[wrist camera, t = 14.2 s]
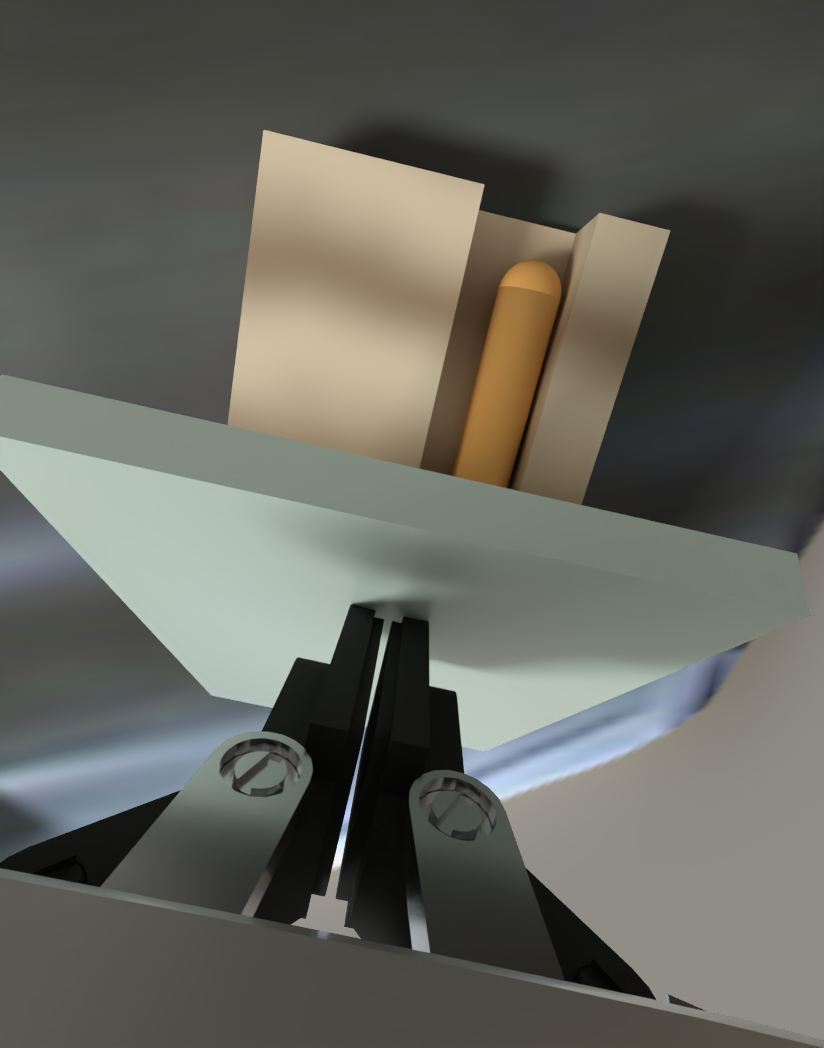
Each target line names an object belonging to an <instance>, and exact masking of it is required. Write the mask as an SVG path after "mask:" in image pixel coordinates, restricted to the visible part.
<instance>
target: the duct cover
mask: <svg viewBox="0 0 824 1048" xmlns="http://www.w3.org/2000/svg"><path fill="white" fill-rule="evenodd" d="M0 470H1V471H2V472H3V473H4V474H5V475H6V476H7V478H8V479H9V480H10V481H11V482H12V483H13V484H14V485H15V486H16V487H17V488H18V489H19V490H20V491H21V493H22V494H23V495H24V496H25V497H26V498H27V499H28V500H29V501H30V502H31V503H32V504H33V505H34V506H35V507H36V509H37V510H38V511H39V512H40V513H41V514H42V515H43V516H44V517H45V518H46V519H47V520H48V521H49V522H50V524H51V525H52V526H53V527H54V528H55V529H56V530H57V531H58V532H59V533H60V534H61V535H62V536H63V537H64V538H65V540H66V541H67V542H68V543H69V544H70V545H71V546H72V547H73V548H74V549H75V550H76V551H77V552H78V553H79V554H80V556H81V557H82V558H83V559H84V560H85V561H86V562H87V563H88V564H89V565H90V566H91V567H92V568H93V569H94V571H95V572H96V573H97V574H98V575H99V576H100V577H101V578H102V579H103V580H104V581H105V582H106V583H107V584H108V585H109V587H110V588H111V589H112V590H113V591H114V592H115V593H116V594H117V595H118V596H119V597H120V598H121V599H122V600H123V601H124V603H125V604H126V605H127V606H128V607H129V608H130V609H131V610H132V611H133V612H134V613H135V614H136V615H137V616H138V618H139V619H140V620H141V621H142V622H143V623H144V624H145V625H146V626H147V627H148V628H149V629H150V630H151V631H152V632H153V634H154V635H155V636H156V637H157V638H158V639H159V640H160V641H161V642H162V643H163V644H164V645H165V646H166V647H167V648H168V650H169V651H170V652H171V653H172V654H173V655H174V656H175V657H176V658H177V659H178V660H179V661H180V662H181V663H182V665H183V666H184V667H185V668H186V669H187V670H188V671H189V672H190V673H191V674H192V675H193V676H194V677H195V678H196V679H197V681H198V682H199V683H200V684H201V685H202V686H203V687H204V688H205V689H206V690H207V691H208V692H209V693H210V694H211V695H212V696H217V697H222V698H227V699H232V700H237V701H242V702H247V703H251V704H256V705H261V706H266V707H271V708H273V706H274V704H275V702H276V700H277V698H278V696H279V694H280V692H281V689H282V687H283V685H284V683H285V681H286V679H287V677H288V675H289V672H290V670H291V668H292V666H293V664H294V662H295V660H296V658H297V657H300V658H304V659H309V660H314V661H318V662H323V663H327V664H330V663H331V660H332V657H333V654H334V651H335V648H336V645H337V642H338V639H339V637H340V634H341V631H342V628H343V625H344V622H345V619H346V616H347V613H348V610H349V607H350V605H355V606H359V607H364V608H368V609H373V610H376V611H375V616H374V617H377V618H381V619H384V624H383V629H382V635H381V640H380V646H379V651H378V657H377V662H376V668H375V673H374V679H373V684H372V690H371V695H370V701H369V706H368V712H367V717H366V723H365V727H367V724H368V720H369V715H370V711H371V707H372V703H373V699H374V694H375V690H376V686H377V682H378V678H379V673H380V669H381V665H382V661H383V657H384V652H385V648H386V644H387V640H388V636H389V631H390V627H391V623H392V621H395V622H399V623H402V620H403V617H409V618H413V619H418V620H422V621H427V622H429V686H433V687H438V688H442V689H447V690H451V691H455V692H456V694H457V701H458V712H459V723H460V734H461V745H462V747H465V748H470V749H475V750H480V751H487V750H490V749H492V748H494V747H497V746H499V745H501V744H504V743H506V742H509V741H511V740H513V739H516V738H518V737H521V736H523V735H525V734H528V733H530V732H533V731H535V730H537V729H540V728H542V727H545V726H547V725H549V724H552V723H554V722H556V721H559V720H561V719H564V718H566V717H568V716H571V715H573V714H576V713H578V712H580V711H583V710H585V709H588V708H590V707H592V706H595V705H597V704H600V703H602V702H604V701H607V700H609V699H612V698H614V697H616V696H619V695H621V694H623V693H626V692H628V691H631V690H633V689H635V688H638V687H640V686H643V685H645V684H647V683H650V682H652V681H655V680H657V679H659V678H662V677H664V676H667V675H669V674H671V673H674V672H676V671H679V670H681V669H683V668H686V667H688V666H690V665H693V664H695V663H698V662H700V661H702V660H705V659H707V658H710V657H712V656H714V655H717V654H719V653H722V652H724V651H726V650H729V649H731V648H734V647H736V646H738V645H741V644H743V643H745V642H748V641H750V640H753V639H755V638H757V637H760V636H762V635H765V634H767V633H769V632H772V631H774V630H776V629H779V628H781V627H784V626H786V625H789V624H791V623H793V622H796V621H798V620H801V619H803V618H805V617H808V616H810V613H809V608H808V603H807V598H806V594H805V589H804V584H803V580H802V575H801V570H800V565H799V561H798V556H797V554H796V553H792V552H787V551H783V550H778V549H774V548H769V547H765V546H761V545H756V544H752V543H747V542H743V541H738V540H734V539H730V538H725V537H721V536H716V535H712V534H707V533H703V532H698V531H694V530H690V529H685V528H681V527H676V526H672V525H667V524H663V523H659V522H654V521H650V520H645V519H641V518H636V517H632V516H627V515H623V514H619V513H614V512H610V511H605V510H601V509H596V508H592V507H588V506H583V505H579V504H574V503H570V502H565V501H561V500H556V499H552V498H548V497H543V496H539V495H534V494H530V493H525V492H521V491H516V490H512V489H508V488H503V487H499V486H494V485H490V484H485V483H481V482H477V481H472V480H468V479H463V478H459V477H454V476H450V475H445V474H441V473H437V472H432V471H428V470H423V469H419V468H414V467H410V466H406V465H401V464H397V463H392V462H388V461H383V460H379V459H374V458H370V457H366V456H361V455H357V454H352V453H348V452H343V451H339V450H335V449H330V448H326V447H321V446H317V445H312V444H308V443H303V442H299V441H295V440H290V439H286V438H281V437H277V436H272V435H268V434H264V433H259V432H255V431H250V430H246V429H241V428H237V427H232V426H228V425H224V424H219V423H215V422H210V421H206V420H201V419H197V418H193V417H188V416H184V415H179V414H175V413H170V412H166V411H161V410H157V409H153V408H148V407H144V406H139V405H135V404H130V403H126V402H121V401H117V400H113V399H108V398H104V397H99V396H95V395H90V394H86V393H82V392H77V391H73V390H68V389H64V388H59V387H55V386H50V385H46V384H42V383H37V382H33V381H28V380H24V379H19V378H15V377H11V376H6V375H1V377H0Z"/></svg>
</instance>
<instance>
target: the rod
mask: <svg viewBox="0 0 824 1048" xmlns="http://www.w3.org/2000/svg"><path fill="white" fill-rule="evenodd" d="M560 299H561V283H560V279H559V277H558V275H557V273H556V272H555V271H554V269H553V268H552V267H551V266H549V265H548V264H546V263H544V262H542V261H539V260H526V261H522V262H519V263H518V264H516V265H514V266H513V267H511V268H510V269H509V270H508V271H507V272H506V274H505V275H504V276H503V278H502V280H501V282H500V285H499V288H498V292H497V296H496V300H495V304H494V308H493V312H492V316H491V320H490V324H489V328H488V332H487V336H486V340H485V344H484V348H483V352H482V356H481V361H480V365H479V369H478V373H477V377H476V381H475V385H474V389H473V393H472V397H471V401H470V405H469V409H468V413H467V417H466V421H465V425H464V429H463V433H462V437H461V441H460V445H459V449H458V453H457V458H456V462H455V466H454V470H453V474H452V476H454V477H459V478H463V479H468V480H472V481H477V482H481V483H485V484H490V485H494V486H499V487H503V488H508V485H509V482H510V478H511V475H512V471H513V468H514V464H515V460H516V457H517V453H518V450H519V446H520V443H521V439H522V435H523V432H524V428H525V425H526V421H527V418H528V414H529V410H530V407H531V403H532V400H533V396H534V393H535V389H536V385H537V382H538V378H539V375H540V371H541V368H542V364H543V360H544V357H545V353H546V350H547V346H548V343H549V339H550V335H551V332H552V328H553V325H554V321H555V318H556V314H557V310H558V307H559V303H560Z"/></svg>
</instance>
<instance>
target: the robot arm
mask: <svg viewBox="0 0 824 1048" xmlns="http://www.w3.org/2000/svg"><path fill="white" fill-rule="evenodd" d="M375 611H376V610H373V609H368V608H364V607H359V606H355V605H350V607H349V610H348V613H347V616H346V619H345V622H344V625H343V628H342V631H341V634H340V637H339V639H338V642H337V645H336V648H335V651H334V654H333V657H332V660H331V663H330V664H327V663H323V662H318V661H314V660H309V659H304V658H300V657H297V658H296V660H295V662H294V664H293V666H292V668H291V670H290V672H289V675H288V677H287V679H286V681H285V683H284V685H283V687H282V689H281V692H280V694H279V696H278V698H277V700H276V702H275V704H274V706H273V709H272V711H271V713H270V715H269V717H268V719H267V721H266V723H265V726H264V728H263V730H262V732H249V733H244V734H240V735H237V736H235V737H232V738H230V739H228V740H226V741H224V742H223V743H222V744H221V745H220V746H219V747H217V748H216V749H215V750H214V751H213V753H212V754H211V755H210V756H209V757H208V759H207V760H206V761H205V762H204V763H203V765H202V766H201V767H200V768H199V769H198V771H197V772H196V773H195V774H194V775H193V777H192V778H191V779H190V780H189V781H188V783H187V784H186V785H185V786H184V787H183V789H182V790H180V791H177V792H175V793H172V794H169V795H167V796H164V797H161V798H159V799H156V800H153V801H151V802H148V803H145V804H143V805H140V806H137V807H135V808H132V809H129V810H127V811H124V812H121V813H119V814H116V815H113V816H111V817H108V818H105V819H103V820H100V821H97V822H95V823H92V824H89V825H87V826H84V827H81V828H79V829H76V830H73V831H71V832H68V833H65V834H63V835H60V836H57V837H55V838H52V839H49V840H46V841H44V842H41V843H38V844H36V845H33V846H30V847H28V848H26V849H24V850H22V851H20V852H18V853H16V854H14V855H12V856H10V857H8V858H6V859H5V860H4V861H2V862H1V863H0V1048H824V1040H821V1039H817V1038H813V1037H810V1036H806V1035H802V1034H798V1033H794V1032H790V1031H786V1030H782V1029H778V1028H774V1027H771V1026H767V1025H763V1024H759V1023H755V1022H751V1021H747V1020H743V1019H739V1018H735V1017H730V1016H725V1015H720V1014H716V1013H711V1012H707V1011H705V1010H703V1009H701V1008H698V1007H696V1006H694V1005H691V1004H689V1003H687V1002H685V1001H682V1000H680V999H678V998H675V997H673V996H671V995H668V996H667V998H666V1000H665V1002H662V1001H657V1000H656V998H655V997H654V995H653V994H652V992H651V990H650V989H649V987H648V986H647V985H646V984H645V983H644V982H643V980H642V979H641V978H640V977H639V976H638V975H637V973H636V972H635V971H634V970H633V969H632V968H631V967H630V966H629V965H628V964H627V963H626V962H625V961H624V960H623V959H621V958H620V957H619V956H618V955H617V954H616V953H615V952H614V951H613V950H612V949H611V948H610V947H609V946H608V945H607V944H605V943H604V941H602V940H601V939H600V938H599V937H598V936H597V935H596V934H595V933H594V932H593V931H592V930H591V929H590V928H589V927H588V926H587V925H586V924H584V923H583V922H582V921H581V920H580V919H579V918H578V917H577V916H576V915H575V914H574V913H573V912H572V911H571V910H570V909H569V908H568V907H567V906H566V905H564V904H563V903H562V902H561V901H560V900H559V899H558V898H557V897H556V896H555V895H554V894H553V893H552V892H551V891H550V890H549V889H548V888H546V887H545V886H544V885H543V884H542V883H541V882H540V881H539V880H538V879H537V878H536V877H535V876H534V875H533V874H532V873H530V871H529V870H527V869H526V868H525V865H524V862H523V860H522V857H521V854H520V851H519V849H518V845H517V843H516V840H515V837H514V834H513V831H512V828H511V826H510V823H509V820H508V817H507V814H506V811H505V810H504V807H503V806H502V804H501V802H500V800H499V798H498V797H497V796H496V795H495V794H494V793H493V792H492V791H491V790H490V789H489V788H488V787H487V786H485V785H484V784H483V783H481V782H480V781H478V780H477V779H475V778H473V777H471V776H468V775H466V774H464V767H463V756H462V745H461V734H460V723H459V712H458V701H457V694H456V692H455V691H451V690H447V689H442V688H438V687H433V686H429V622H427V621H422V620H418V619H413V618H409V617H403V620H402V623H399V622H395V621H392V623H391V627H390V631H389V636H388V640H387V644H386V648H385V652H384V657H383V661H382V665H381V669H380V673H379V678H378V682H377V686H376V690H375V694H374V699H373V703H372V707H371V711H370V715H369V720H368V724H367V728H366V732H365V737H364V742H363V747H362V752H361V758H360V763H359V769H358V775H357V780H356V786H355V792H354V797H353V803H352V808H351V814H350V820H349V825H348V831H347V837H346V842H345V848H344V854H343V859H342V865H341V870H340V876H339V882H338V888H337V894H336V899H340V900H345V901H348V906H347V912H346V919H345V925H344V926H345V927H349V928H354V930H355V931H356V932H357V934H358V935H359V937H360V938H361V939H358V938H353V937H349V936H343V935H339V934H334V933H328V932H324V931H319V930H314V929H308V928H303V927H299V926H294V925H290V924H292V923H293V922H295V921H297V920H298V919H300V918H304V919H306V916H307V911H308V907H309V902H310V898H311V894H315V895H320V896H325V895H326V891H327V886H328V882H329V878H330V874H331V869H332V865H333V861H334V857H335V853H336V848H337V844H338V840H339V836H340V831H341V827H342V823H343V819H344V815H345V810H346V806H347V802H348V798H349V794H350V789H351V785H352V781H353V777H354V772H355V768H356V764H357V760H358V756H359V751H360V747H361V742H362V738H363V733H364V728H365V723H366V717H367V712H368V706H369V701H370V695H371V690H372V684H373V679H374V673H375V668H376V662H377V657H378V651H379V646H380V640H381V635H382V629H383V624H384V619H381V618H377V617H374V616H375Z"/></svg>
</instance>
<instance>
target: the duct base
mask: <svg viewBox="0 0 824 1048" xmlns="http://www.w3.org/2000/svg"><path fill="white" fill-rule="evenodd" d="M484 185H485V184H481V183H476V182H472V181H468V180H464V179H460V178H456V177H452V176H448V175H444V174H440V173H436V172H432V171H428V170H424V169H420V168H416V167H412V166H408V165H404V164H400V163H396V162H392V161H388V160H384V159H379V158H375V157H371V156H367V155H363V154H359V153H355V152H351V151H347V150H343V149H339V148H335V147H331V146H327V145H323V144H319V143H315V142H311V141H307V140H303V139H299V138H295V137H291V136H286V135H282V134H278V133H274V132H270V131H266V130H264V131H263V139H262V147H261V156H260V164H259V172H258V180H257V188H256V197H255V205H254V213H253V221H252V229H251V238H250V246H249V254H248V262H247V271H246V279H245V287H244V295H243V303H242V312H241V320H240V328H239V336H238V344H237V353H236V361H235V369H234V377H233V386H232V394H231V402H230V410H229V418H228V426H232V427H237V428H241V429H246V430H250V431H255V432H259V433H264V434H268V435H272V436H277V437H281V438H286V439H290V440H295V441H299V442H303V443H308V444H312V445H317V446H321V447H326V448H330V449H335V450H339V451H343V452H348V453H352V454H357V455H361V456H366V457H370V458H374V459H379V460H383V461H388V462H392V463H397V464H401V465H406V466H410V467H414V468H419V469H423V470H428V471H432V472H437V473H441V474H445V475H450V476H452V474H453V470H454V466H455V462H456V458H457V453H458V449H459V445H460V441H461V437H462V433H463V429H464V425H465V421H466V417H467V413H468V409H469V405H470V401H471V397H472V393H473V389H474V385H475V381H476V377H477V373H478V369H479V365H480V361H481V356H482V352H483V348H484V344H485V340H486V336H487V332H488V328H489V324H490V320H491V316H492V312H493V308H494V304H495V300H496V296H497V292H498V288H499V285H500V282H501V280H502V278H503V276H504V275H505V274H506V272H507V271H508V270H509V269H510V268H511V267H513V266H514V265H516V264H518V263H519V262H522V261H526V260H539V261H542V262H544V263H546V264H548V265H549V266H551V267H552V268H553V269H554V271H555V272H556V273H557V275H558V277H559V279H560V283H561V299H560V303H559V307H558V310H557V314H556V318H555V321H554V325H553V328H552V332H551V335H550V339H549V343H548V346H547V350H546V353H545V357H544V360H543V364H542V368H541V371H540V375H539V378H538V382H537V385H536V389H535V393H534V396H533V400H532V403H531V407H530V410H529V414H528V418H527V421H526V425H525V428H524V432H523V435H522V439H521V443H520V446H519V450H518V453H517V457H516V460H515V464H514V468H513V471H512V475H511V478H510V482H509V485H508V489H512V490H516V491H521V492H525V493H530V494H534V495H539V496H543V497H548V498H552V499H556V500H561V501H565V502H570V503H574V504H579V505H581V504H582V501H583V498H584V495H585V492H586V489H587V486H588V483H589V479H590V476H591V473H592V470H593V467H594V464H595V461H596V458H597V455H598V452H599V449H600V446H601V443H602V440H603V436H604V433H605V430H606V427H607V424H608V421H609V418H610V415H611V412H612V409H613V406H614V403H615V400H616V397H617V393H618V390H619V387H620V384H621V381H622V378H623V375H624V372H625V369H626V366H627V363H628V360H629V357H630V354H631V350H632V347H633V344H634V341H635V338H636V335H637V332H638V329H639V326H640V323H641V320H642V317H643V314H644V311H645V307H646V304H647V301H648V298H649V295H650V292H651V289H652V286H653V283H654V280H655V277H656V274H657V271H658V267H659V264H660V261H661V258H662V255H663V252H664V249H665V246H666V243H667V240H668V237H669V234H670V231H671V230H667V229H662V228H658V227H654V226H650V225H646V224H642V223H638V222H634V221H630V220H626V219H622V218H618V217H614V216H610V215H606V214H602V213H599V214H598V215H597V216H596V217H594V218H593V219H592V220H591V221H590V222H589V223H588V224H586V225H585V226H584V227H583V228H582V229H581V230H580V231H578V232H577V233H576V234H575V233H570V232H566V231H562V230H558V229H554V228H550V227H546V226H542V225H538V224H534V223H530V222H526V221H522V220H518V219H513V218H509V217H505V216H501V215H497V214H493V213H489V212H485V211H481V210H479V207H480V203H481V198H482V194H483V189H484Z"/></svg>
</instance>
